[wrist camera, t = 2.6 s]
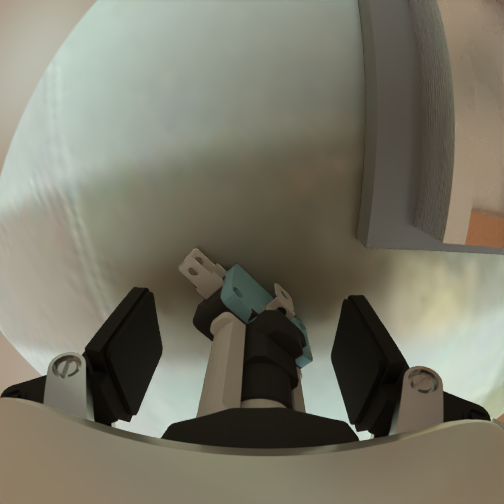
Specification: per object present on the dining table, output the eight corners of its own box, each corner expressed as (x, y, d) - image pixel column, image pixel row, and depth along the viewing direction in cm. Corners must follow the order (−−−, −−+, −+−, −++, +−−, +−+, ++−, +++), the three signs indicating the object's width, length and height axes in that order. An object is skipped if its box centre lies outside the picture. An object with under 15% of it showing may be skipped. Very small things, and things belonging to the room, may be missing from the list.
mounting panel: (497, -7, 4) (506, -11, 3) (517, 249, 11) (528, 256, 10) (338, -83, 4) (342, -93, 3) (356, 238, 11) (366, 247, 10)
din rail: (492, -16, 3) (509, -24, 1) (519, 239, 10) (543, 252, 7) (380, -77, 3) (392, -95, 1) (412, 226, 10) (443, 243, 8)
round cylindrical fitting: (157, 285, 12) (41, 479, 3) (238, 203, 11) (147, 467, 1) (256, 366, 14) (253, 552, 4) (338, 307, 12) (419, 511, 3)
